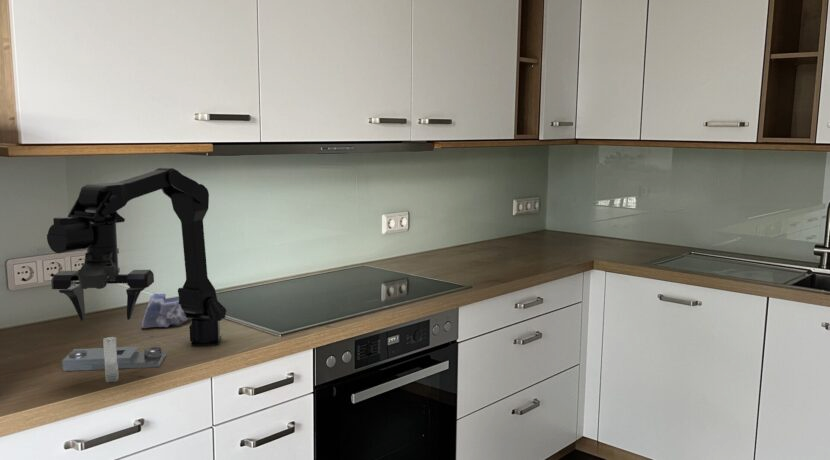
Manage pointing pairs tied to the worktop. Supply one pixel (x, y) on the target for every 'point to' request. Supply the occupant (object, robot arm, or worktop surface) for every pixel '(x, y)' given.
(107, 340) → the pin
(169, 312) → the mineral
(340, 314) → the worktop surface
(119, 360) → the grey bolted bracket plate
